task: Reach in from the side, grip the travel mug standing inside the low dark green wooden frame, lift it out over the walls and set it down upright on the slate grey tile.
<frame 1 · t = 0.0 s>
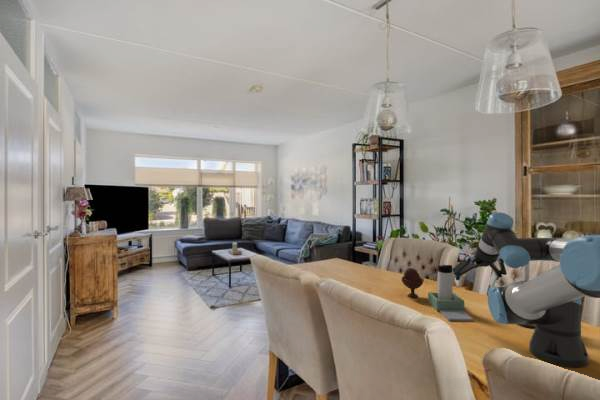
hand: (473, 284, 135), 15 cm above the table, tool tilted 35°, fingers open, 13 cm apart
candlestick: (526, 324, 132), on the table
travel mug: (445, 307, 152), resting in green frame
slate tile: (456, 316, 140), on the table
green frame: (445, 306, 152), on the table
ice cream bowl: (412, 296, 168), on the table
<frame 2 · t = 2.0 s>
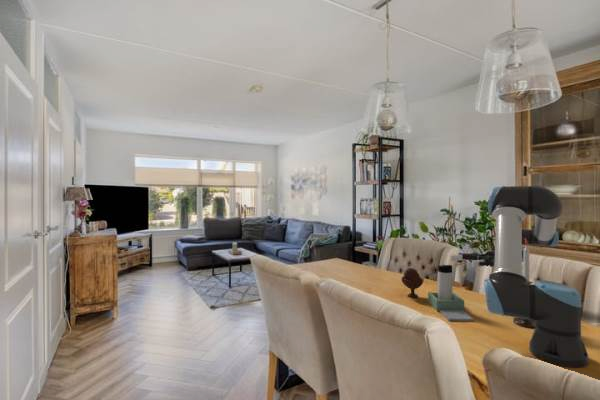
hand: (461, 261, 154), 21 cm above the table, tool horizontal, fingers open, 13 cm apart
nothing on the table moved.
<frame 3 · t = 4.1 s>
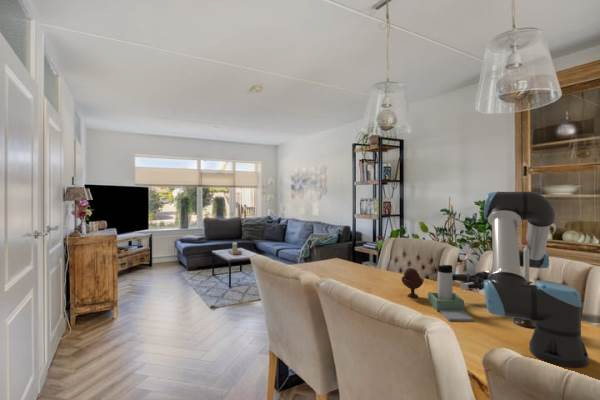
hand: (450, 282, 153), 11 cm above the table, tool horizontal, fingers open, 13 cm apart
nothing on the table moved.
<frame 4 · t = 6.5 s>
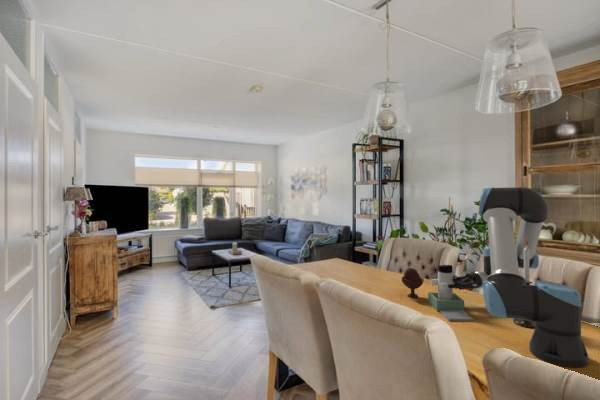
hand: (436, 284, 151), 11 cm above the table, tool horizontal, fingers closed on travel mug, 6 cm apart
travel mug: (445, 307, 152), resting in green frame, touching gripper
everything else where it was.
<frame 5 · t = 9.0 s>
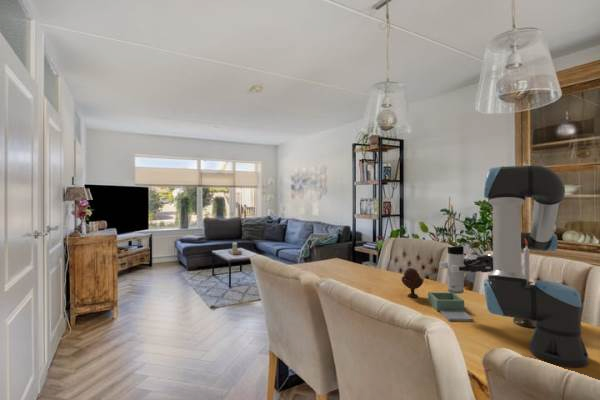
hand: (445, 267, 138), 22 cm above the table, tool horizontal, fingers closed on travel mug, 6 cm apart
travel mug: (455, 292, 140), point 11 cm above the table, touching gripper
everything else where it was.
when the fingers open (13 cm above the table, at t = 11.7 s): travel mug drops 1 cm, resting on slate tile.
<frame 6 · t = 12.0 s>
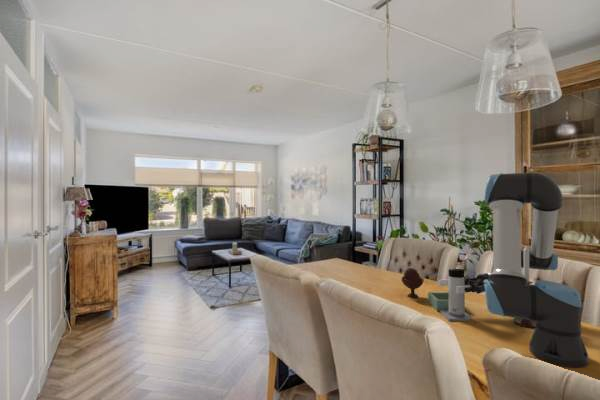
hand: (447, 286, 139), 13 cm above the table, tool horizontal, fingers open, 10 cm apart
travel mug: (456, 315, 140), point 1 cm above the table, touching slate tile
everything else where it was.
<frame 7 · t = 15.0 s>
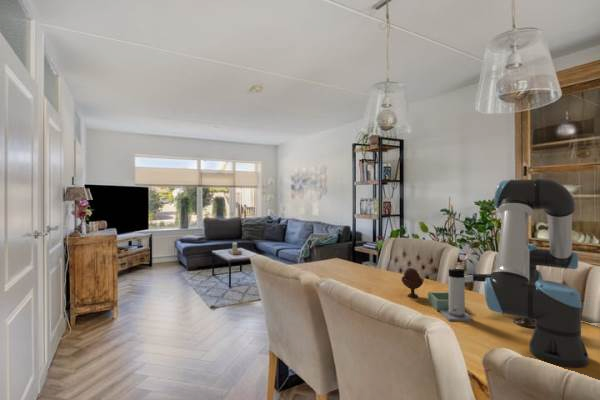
hand: (472, 283, 142), 14 cm above the table, tool horizontal, fingers open, 13 cm apart
nothing on the table moved.
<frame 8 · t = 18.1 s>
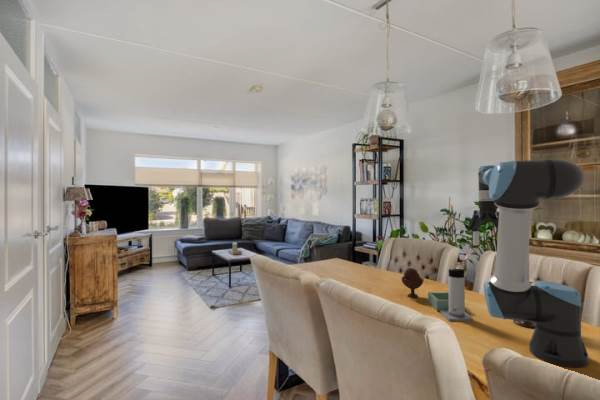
hand: (488, 247, 145), 29 cm above the table, tool pointing down, fingers open, 13 cm apart
nothing on the table moved.
at the end: travel mug inside the target area on the slate tile (0.4 cm from its centre), point 0.8 cm above the slate tile's base; travel mug tilted 0°; the gripper is holding nothing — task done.
